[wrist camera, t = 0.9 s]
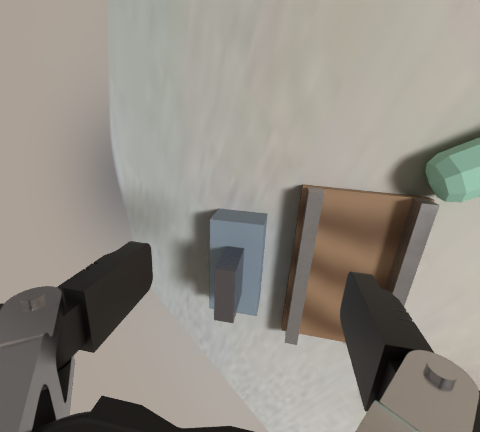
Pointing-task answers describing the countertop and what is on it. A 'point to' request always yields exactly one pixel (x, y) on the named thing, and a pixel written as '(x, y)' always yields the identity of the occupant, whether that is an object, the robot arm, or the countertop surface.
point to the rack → (350, 252)
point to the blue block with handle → (236, 262)
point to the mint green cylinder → (456, 172)
